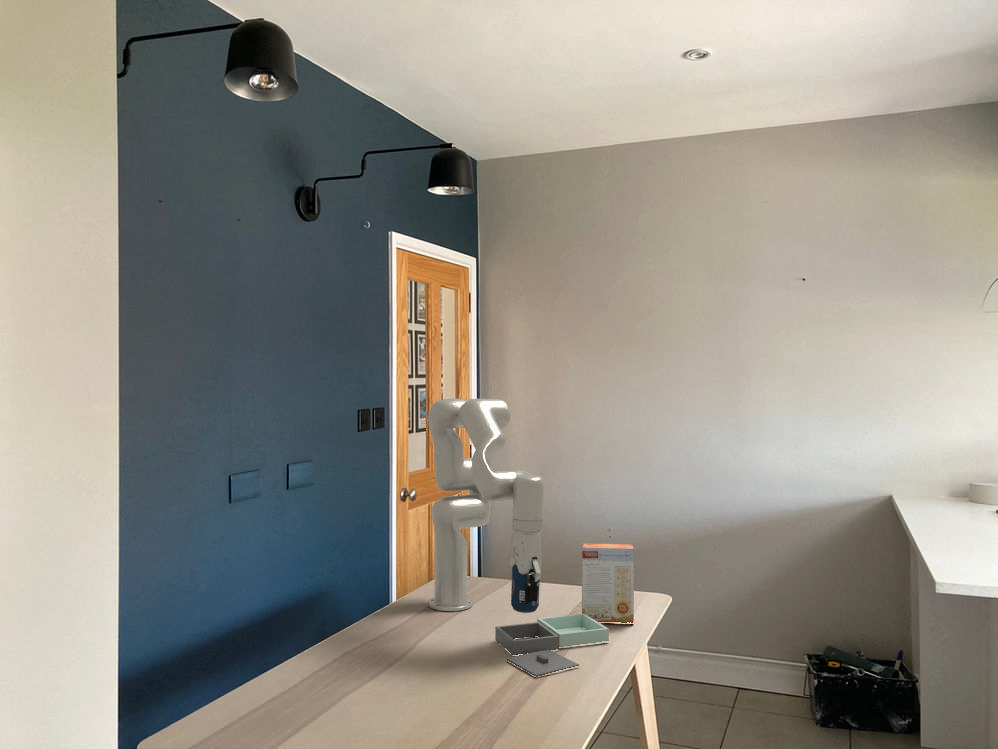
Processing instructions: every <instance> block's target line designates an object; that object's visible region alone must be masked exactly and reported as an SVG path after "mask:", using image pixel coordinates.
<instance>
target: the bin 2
mask: <svg viewBox="0 0 998 749" xmlns="http://www.w3.org/2000/svg"><path fill="white" fill-rule="evenodd" d="M536 622H540V623H541V624H543V625H544V626H546V627H547V628H548V629H550V630H551V631H552V632H554V633H555V634H556V635H558V636H559V647H564V646H571V645H580V644H588V643H596V642H602V641H609V642H610V640H609V639H610V638H609V636H610V635H609V634H610V629H609V628H608V627H606V626H605V625H604V624H600V623H599V622H597V621H595V620H594V619H592V618H591V617H589V616H587V615H586V614H582V613H576V614H568V615H567V614H566V615H558V616H548V617H547V616H546V617H539V618H538V617H537V621H536ZM583 628H585V629H583Z"/></svg>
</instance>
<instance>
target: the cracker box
mask: <svg viewBox="0 0 998 749" xmlns="http://www.w3.org/2000/svg"><path fill="white" fill-rule="evenodd" d="M581 548H582V549H581V614H586V615H587V616H589V617H591V618H592V619H594V620H595V621H597V622H621V623H627V622H629V623H630V622H631V623H633V622H634V623H635V621H634V620H635V619H634V617H635V613H634V612H635V610H634V608H635V602H634V601H635V600H634V599H635V597H634V596H635V591H634V590H635V587H634V586H635V582H634V581H635V580H634V579H635V572H634V571H635V566H634V565H635V563H634V562H635V548H634V546H633V544H629V543H628V544H627V543H626V544H625V543H623V544H622V543H619V544H618V543H584V542H583V543H582V545H581Z"/></svg>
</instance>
